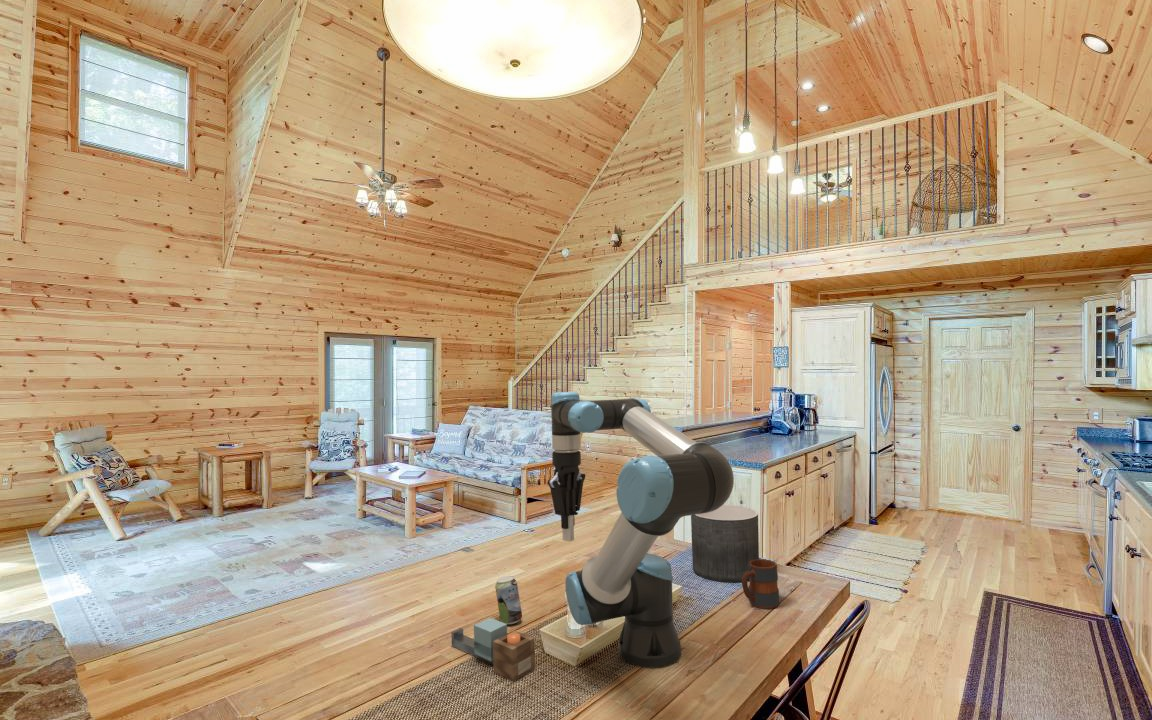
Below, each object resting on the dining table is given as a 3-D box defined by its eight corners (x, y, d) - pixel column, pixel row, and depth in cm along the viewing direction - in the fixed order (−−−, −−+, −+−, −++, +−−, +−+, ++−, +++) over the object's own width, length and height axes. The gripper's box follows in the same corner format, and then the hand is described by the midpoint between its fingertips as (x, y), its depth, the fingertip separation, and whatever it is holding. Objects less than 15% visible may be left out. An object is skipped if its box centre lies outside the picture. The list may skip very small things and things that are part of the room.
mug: (733, 603, 168) (732, 563, 168) (764, 595, 173) (763, 556, 173) (753, 614, 160) (752, 572, 160) (786, 606, 165) (785, 565, 165)
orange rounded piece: (523, 650, 133) (522, 635, 133) (513, 655, 131) (513, 639, 131) (514, 646, 135) (513, 631, 135) (504, 651, 133) (504, 636, 133)
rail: (509, 663, 136) (509, 648, 136) (500, 668, 134) (499, 653, 134) (461, 641, 148) (460, 627, 148) (451, 645, 145) (451, 631, 145)
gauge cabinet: (535, 668, 133) (535, 638, 133) (513, 681, 128) (513, 649, 128) (515, 659, 138) (514, 630, 138) (493, 671, 132) (493, 641, 132)
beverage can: (518, 627, 155) (517, 583, 155) (492, 626, 156) (491, 581, 156) (525, 617, 161) (524, 574, 161) (500, 616, 162) (499, 573, 163)
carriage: (507, 652, 138) (506, 624, 138) (491, 661, 134) (490, 632, 134) (490, 645, 142) (490, 617, 142) (474, 653, 138) (473, 625, 138)
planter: (757, 562, 203) (755, 505, 203) (762, 585, 181) (760, 521, 182) (693, 558, 208) (691, 503, 208) (691, 581, 186) (689, 518, 187)
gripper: (571, 446, 159) (573, 532, 159) (539, 452, 149) (540, 543, 149) (592, 448, 154) (594, 536, 154) (560, 454, 144) (562, 548, 144)
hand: (568, 540), depth 151 cm, fingers closed
